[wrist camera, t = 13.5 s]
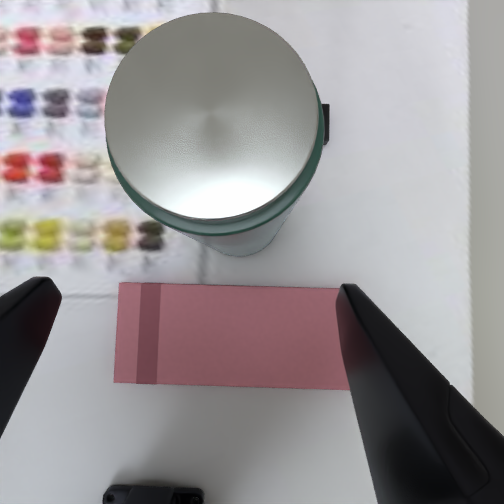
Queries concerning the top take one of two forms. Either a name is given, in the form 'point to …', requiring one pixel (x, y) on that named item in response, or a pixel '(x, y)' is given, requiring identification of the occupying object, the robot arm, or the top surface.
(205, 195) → the tin
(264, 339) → the towel
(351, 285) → the robot arm
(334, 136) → the top surface
